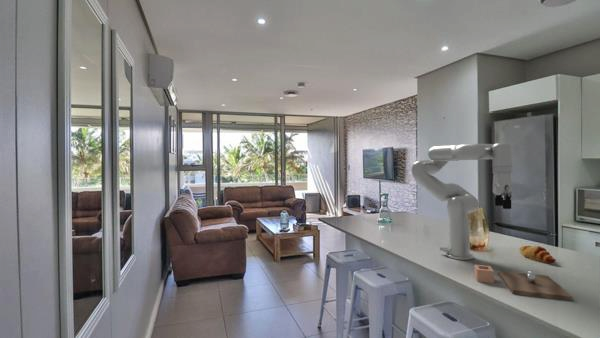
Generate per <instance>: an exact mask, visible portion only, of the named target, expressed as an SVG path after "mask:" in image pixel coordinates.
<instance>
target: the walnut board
mask: <svg viewBox="0 0 600 338" xmlns="http://www.w3.org/2000/svg"><path fill="white" fill-rule="evenodd" d="M497 275H498V276H499V278H500V279H501V280H502V282H503V283H504V285H506V287H507V288H508V290H509V291H510V293H511V294H513V295H521V296H527V297H528V296H529V297H536V298H546V299H554V300H555V299H556V300H564V301H574V299H573V296H572V295H571V294H570V292H568V291H567V290H565V289H564V288H563V287H562V286H561V285H560V284H558V283H557V282H556V281H555V280H554V279H553V278H551V277H550V276H549V275H544V274H535V284H532V283H528V273H525V272H523V273H522V272H511V271H504V270H503V271H500V270H497Z"/></svg>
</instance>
